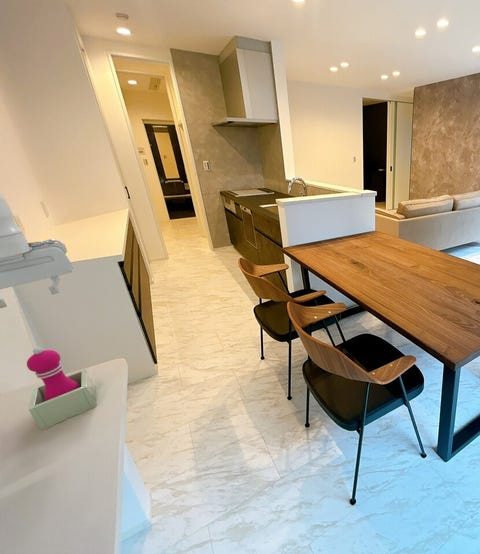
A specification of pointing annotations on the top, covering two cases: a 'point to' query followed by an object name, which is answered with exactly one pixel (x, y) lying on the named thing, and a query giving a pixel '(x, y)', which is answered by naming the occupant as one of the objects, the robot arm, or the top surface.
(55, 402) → the holder
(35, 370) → the pepper mill
